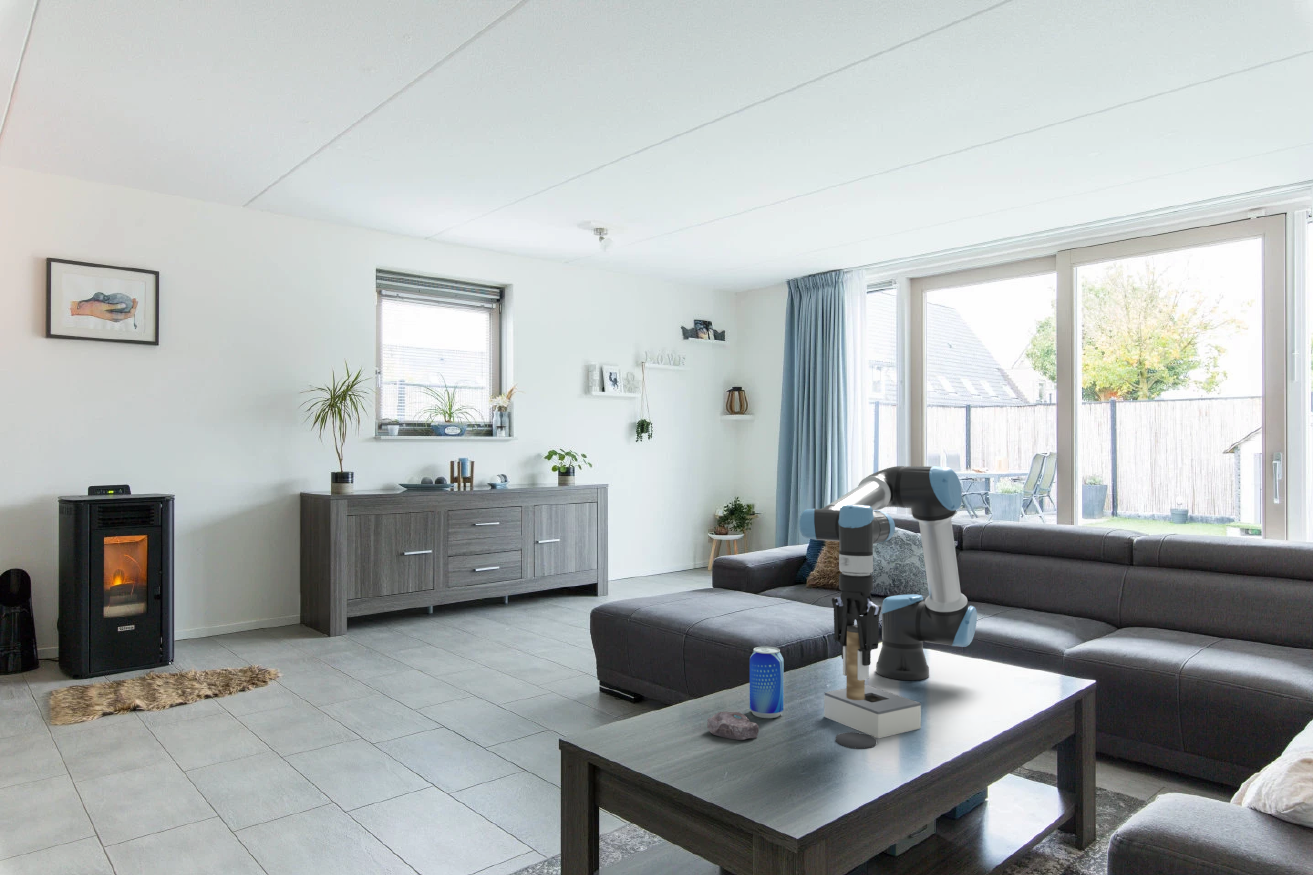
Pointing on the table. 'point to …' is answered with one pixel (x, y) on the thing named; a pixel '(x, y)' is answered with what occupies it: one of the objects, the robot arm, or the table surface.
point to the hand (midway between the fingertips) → (855, 676)
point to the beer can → (766, 682)
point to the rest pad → (856, 740)
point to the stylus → (853, 666)
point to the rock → (732, 726)
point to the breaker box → (873, 712)
